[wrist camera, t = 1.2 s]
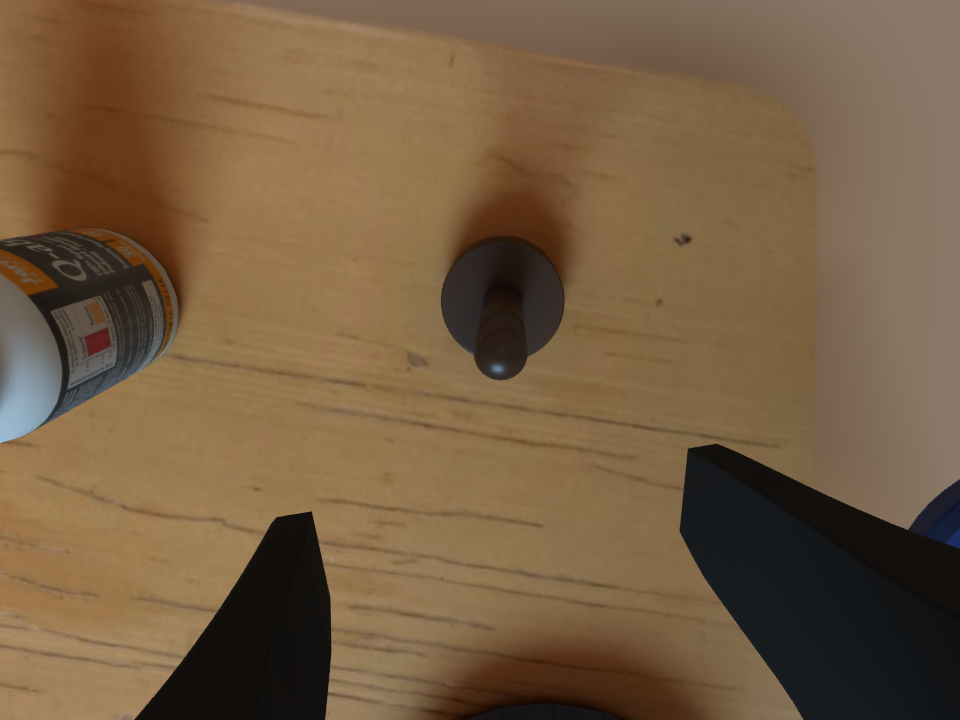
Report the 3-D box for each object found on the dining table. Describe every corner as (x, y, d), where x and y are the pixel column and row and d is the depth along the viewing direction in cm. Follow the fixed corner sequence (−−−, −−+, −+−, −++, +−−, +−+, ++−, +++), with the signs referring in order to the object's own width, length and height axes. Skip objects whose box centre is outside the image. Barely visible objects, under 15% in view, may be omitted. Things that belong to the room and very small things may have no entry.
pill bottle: (165, 220, 23) (-75, 258, 13) (198, 365, 25) (5, 489, 15) (21, 232, 23) (-311, 276, 14) (64, 373, 25) (-207, 500, 15)
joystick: (572, 247, 23) (607, 291, 15) (547, 358, 24) (568, 455, 16) (455, 226, 22) (426, 258, 14) (437, 339, 24) (401, 425, 16)
